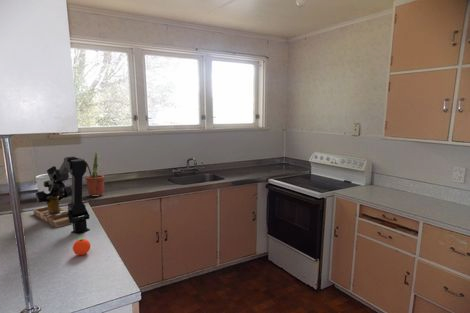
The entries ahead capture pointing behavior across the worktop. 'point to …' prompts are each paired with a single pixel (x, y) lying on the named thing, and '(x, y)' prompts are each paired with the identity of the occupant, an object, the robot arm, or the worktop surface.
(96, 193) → the potted plant
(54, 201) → the condiment
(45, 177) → the utensil holder
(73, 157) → the robot arm
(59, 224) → the tray
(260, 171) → the worktop surface
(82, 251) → the clementine
